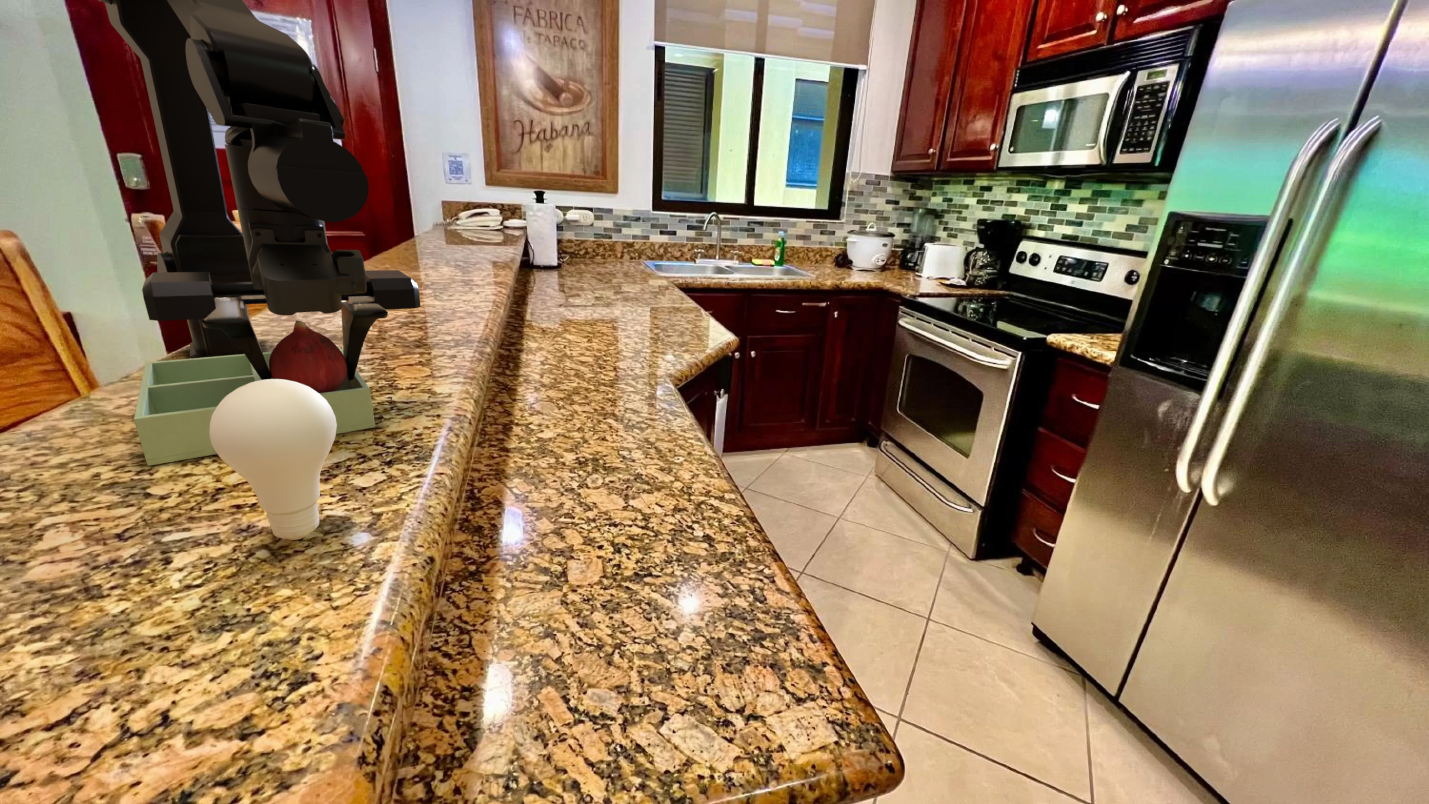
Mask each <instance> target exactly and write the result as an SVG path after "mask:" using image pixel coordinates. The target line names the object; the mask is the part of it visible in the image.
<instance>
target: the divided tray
mask: <svg viewBox="0 0 1429 804" xmlns="http://www.w3.org/2000/svg"><path fill="white" fill-rule="evenodd" d="M336 346H337V347H338V348H339V350H340V351H341V352H342V354H343V348H341V347H340V346H339V345H336ZM271 353H272V351H266V352H263V355H264V357H265V360H266V363H267V365H268V368H269V359H270V355H271ZM269 371H270V369H269ZM142 372H143V373H142V376H141V381H140V387H139V391H138V397H137V401H136V407H135V412H134V416H133V422H134V425H135V428H136V432H137V435H138V438H139V443H140V445H141V449H142V452H143V455H144V459H145V461H146V466H148V467H149V466H156V465H161V464H167V463H172V462H173V463H174V462H178V461H179V462H180V461H185V460H190V459H195V458H203V457H208V456H213V455H218V454H217V452H216V451H215V449H214V448H213V446H212V444H211V440H210V421H211V417H212V414H213V413H214V411H215V409H216V408H217V406H218V405H219V403H220V402H221V401H222V400H223V399H224V398H225V397H226V396H227V395H228V394H230V393H231V392H233V391H234V390H236V389H237V388H239V387H241V386H244V385H246V384H248V383H251V382H255V381H259V380H261V378H260V377H259V375H258V374H257V372H256V371H255V369H254V368H253V366H252V365H251V363H250V362H249V360H248V359H247V357H246V356H245V354H240V355H228V356H216V357H204V358H192V359H190V358H182V359H170V360H157V361H146V362H145V363H144V366H143V371H142ZM271 378H272V377H271ZM371 393H372V392H371V388H370V386H369V385H368V384H367V382H366V381H365V380H364V378H363V377H362V376H361V374H360V372H359V371H358V370H357V369H356V372H355V376H354V379H353V380H350V381H349V380H348V379H347V376H346V377H345V379H344V381H343V383H342V384H341V386H340V387H339V388H338V389H337V390H336V391H333V392H326V393H319V394H320V395H321V396H322V397H324V398H325V399H326V400H327V402H328V403H329V405H330V406H331V408H332V410H333V413H334V415H335V417H336V423H337V427H336V435H337V434H344V433H349V432H357V431H361V430H362V431H363V430H367V429H373V428H376V423H375V417H374V409H373V401H372V394H371Z"/></svg>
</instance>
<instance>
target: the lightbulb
mask: <svg viewBox="0 0 1429 804" xmlns="http://www.w3.org/2000/svg"><path fill="white" fill-rule="evenodd" d="M336 427H337V423H336V417H335V415H334V413H333V410H332V408H331V406H330V405H329V403H328V402H327V400H326V399H325V398H324V397H322V396H321V395H320V394H319V393H318V392H316V391H315V390H313V389H312V388H310V387H308V386H306V385H303V384H301V383H298V382H294V381H289V380H284V379H266V380H259V381H255V382H251V383H248V384H246V385H244V386H241V387H239V388H237V389H236V390H234V391H233V392H231V393H230V394H228V395H227V396H226V397H225V398H224V399H223V400H222V401H221V402H220V403H219V405H218V406H217V408H216V409H215V411H214V413H213V414H212V417H211V421H210V440H211V444H212V446H213V448H214V449H215V451H216V452H217V454H216V455H217V456H218V457H219V458H220V460H222V461H223V462H224V463H225V464H226V465H227V466H228V467H230V469H232V471H234V472H236V473H237V474H238V475H239V476H240V477H242V478H243V479H245V481H246V482H247V483H248V485H250V487H251V488H252V491H253V492H254V494H255V496H256V498H257V502H258V505H259V506H260V509H261V510H262V511H263V512H265V513H266V517H267V519H268V523H269V527H270V529H271V532H272V534H273V536H275V537H277V538H279V539H282V540H291V541H297V540H301V539H303V538H305V537H307V536H308V535H309V534H311V533H312V532H315V530H316V529H317V528H318V527H319V526H320V515H319V514H320V510H319V505H318V501H319V499H320V496H321V485H320V479H321V472H322V469H323V465H324V463H325V461H326V459H327V457H328V455H329V454H330V452H331V449H332V446H333V444H334V442H335V439H336V435H337V434H336Z"/></svg>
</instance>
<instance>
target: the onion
mask: <svg viewBox="0 0 1429 804" xmlns="http://www.w3.org/2000/svg"><path fill="white" fill-rule="evenodd" d="M293 324H294V326H293V330H292V331H291V332H290V333H288V334H287V335H286V336H285V337H283V338H282V339H280V341H278V343H276V345H275V346H274V347H273V349H272V351H271V352H272V353H271V355H270V359H269V369H270V374H271V377H272V379H284V380H289V381H294V382H298V383H301V384H303V385H306V386H308V387H310V388H312V389H313V390H315V391H316V392H318V393H326V392H333V391H336V390H337V389H338V388H339V387H340V386H341V384H342V383H343V381H344V379H345V377H346V375H347V363H346V359H345V357H344V355H343V354H342V352H341V351H340V350H339V348H338V347H337V346H338V345H337V344H336V343H335V342H334V341H333V340H331V338H329V337H328V336H326V335H324V334H322V333H319V332H318V331H315V330H313V329H312V328H311V327H309V326H308V325H307V324H306V322H304V321H303V320H298V319H297V320H295V322H294V323H293Z"/></svg>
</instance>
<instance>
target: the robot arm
mask: <svg viewBox="0 0 1429 804" xmlns="http://www.w3.org/2000/svg"><path fill="white" fill-rule="evenodd" d="M98 2H101V3H104V4H105V9H106V12H107V16H108V19H109V20H108V21H109V22H110V25H111V26H112V27H113V28H114V29H115V31H116V32H117V33H118V34H119V35H120V37H122V39H123V40H124V41H125V42H126V44H127V45H128V46H129V47H130V48H131V50H132V51H133V52H134V53H135V54H136V56H137V57H138V58H139V59H140V63H141V67H142V68H141V69H142V71H143V77H144V81H145V86H146V90H147V95H148V99H149V104H150V109H151V113H152V117H153V122H154V126H155V132H156V136H157V141H158V144H159V149H160V153H161V159H162V163H163V164H162V165H163V168H164V172H165V173H164V174H165V176H166V181H167V187H168V191H169V195H170V199H171V204H172V209H173V211H172V212H171V214H170V216H169V217H168V219H167V221H166V223H165V224H164V225H163V227H162V229H161V231H160V232H159V238H160V239H159V240H160V244H161V249H162V252H157V253H156V256H157V257H156V260H157V261H156V262H157V264H156V265H157V269H156V270H157V272H152V273H151V274H150V275H149V276H147V278H145V280H144V282H143V285H142V288H141V292H142V296H143V297H142V298H143V301H144V305H145V309H146V312H147V316H148V320H149V321H154V322H168V321H187V325H188V329H189V333H190V337H191V341H192V342H190V343H189V359H192V358H204V357H216V356H228V355H240V354H245V356H246V357H247V359H248V360H249V362H250V363H251V365H252V366H253V368H254V369H255V371H256V372H257V374H258V375H259V377H260V378H261V380H266V379H272V378H271V374H270V371H269V368H268V365H267V363H266V360H265V357H264V355H263V353H264V352H263V350H262V347H261V345H260V342H259V339H258V336H257V334H256V332H255V329H254V326H253V324H252V321H251V318H250V313H249V308H248V305H264V304H265V305H267V309H268V311H269V312H270V313H271V314H274V315H277V316H294V315H295V314H300V313H303V314H304V313H323V314H326V315H327V314H334V313H338V312H339V311H341V312H340V313H341V330H342V331H341V333H342V351H343V355H344V357H345V359H346V363H347V375H346V376H347V379H348V380H349V381H350V380H353V379H354V376H355V372H356V370H357V369H358V364H359V362H360V361H359V360H360V358H361V355H362V354H361V353H362V349H363V346H364V343H365V341H366V338H367V335H368V333H369V331H370V330H371V327H372V326H373V325H374V324H375V323H376V321H377V320H381V319H386V318H388V316H389V311H390V310H391V311H392V310H409V309H411V310H412V309H418V308H421V298H420V297H421V296H420V289H419V286H418V283H417V282H416V281H415V280H414V279H413V278H411V277H410V276H408V275H407V274H406V273H404V272H402V271H401V270H399V269H395V270H394V269H392V270H391V269H390V270H389V269H387V270H386V269H385V270H384V269H382V270H378V269H377V270H366V269H365V262H364V257H363V255H362V252H361V250H359V249H334V250H333V251H332V250H331V249H330V247H329V244H328V238H327V230H326V224H325V222H326V223H328V222H329V223H337V222H343V221H346V220H349V219H351V218H353V217H355V216H356V215H357V214H359V212H361V211H362V209H363V208H364V206H365V205H366V203H367V200H368V197H369V187H370V186H369V180H368V176H367V174H366V173H365V171H364V169H363V166H362V165H361V164H360V163H361V162H359V160H358V159H357V158H356V156H355V155H353V153H351V152H350V151H349V150H348V148H346V147H345V146H343V145H341V144H339V143H338V142H336V141H335V140H339V141H344V140H346V133H345V130H344V128H343V127H344V123H345V119H344V116H343V114H342V113H341V111H340V109H339V107H338V105H337V104H336V102H335V100H334V98H333V96H332V94H331V93H330V90H329V89H328V87H327V85H326V83H325V82H324V79H323V77H322V75H321V72H320V71H319V68H318V67H317V66H316V65H315V64H313V61H312V59H311V57H310V55H309V54H308V53H307V51H306V50H305V49H304V48H303V47H302V46H301V45H300V44H299V43H298V42H296V40H294V39H293V38H292V37H290V35H288V34H287V33H285V32H283V31H281V30H279V29H277V28H275V27H273V26H270V25H269V24H267V23H264V22H262V21H261V20H259V19H258V18H257V17H256V16H255V14H254V13H253V12H252V10H251V9H250V8H249V6H248V5H247V4H246V2H245V1H244V0H98ZM211 118H212V120H213V121H214V123H215V125H217V126H222V127H223V126H224V127H228V128H227V129H226V130H225V134H224V143H225V144H224V148H225V153H226V154H225V155H226V159H227V164H228V168H229V174H230V179H231V183H232V190H233V193H234V198H235V199H234V200H235V204H236V209H237V214H238V219H239V223H240V229H241V230H240V229H239V228H238V227H237V226H236V224H235V223H234V222H233V221H232V220H231V219H230V217H229V213H228V209H227V203H226V198H225V192H224V185H223V180H222V175H221V171H220V166H219V165H220V164H219V158H218V153H217V148H216V143H215V137H214V131H213V126H212V120H211ZM388 310H389V311H388Z"/></svg>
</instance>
